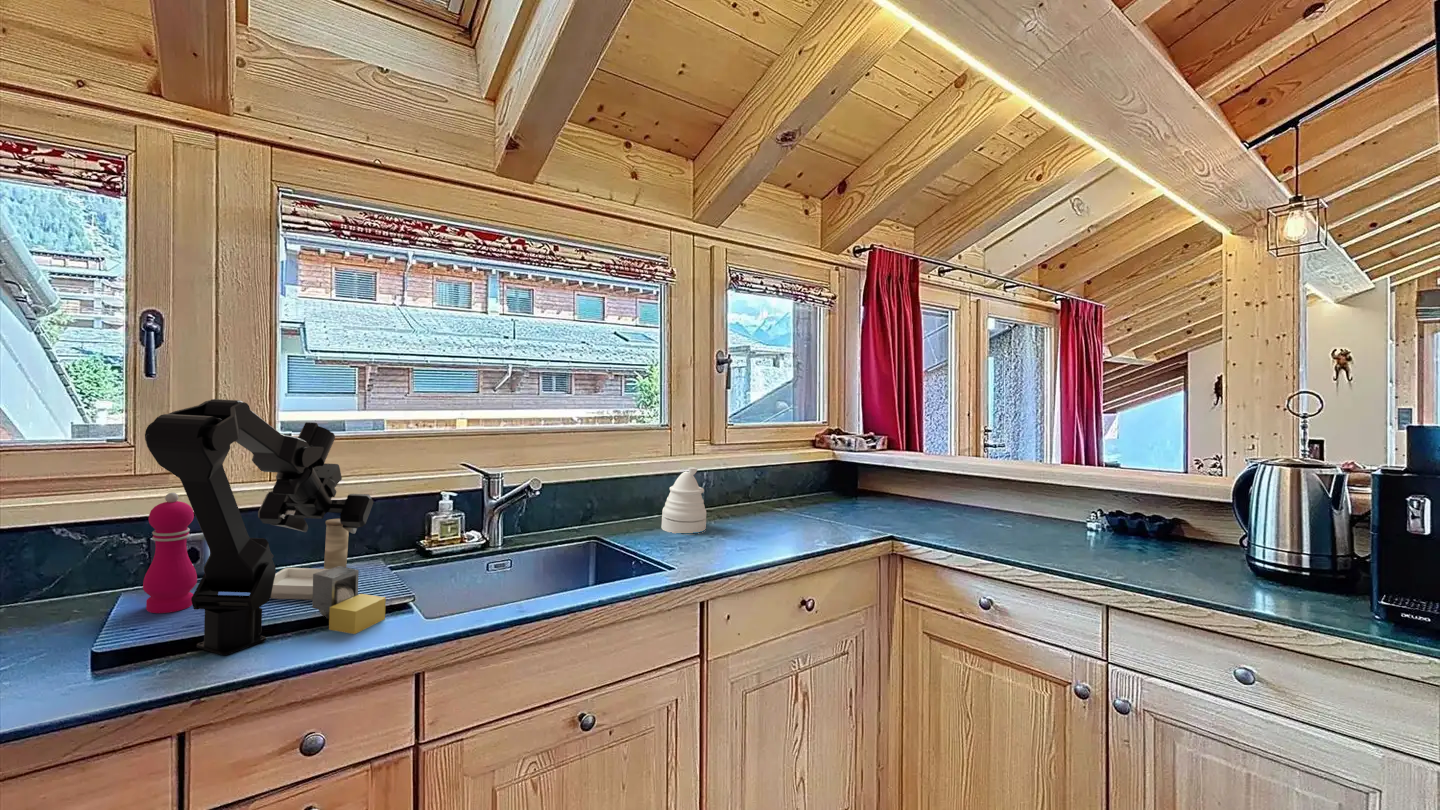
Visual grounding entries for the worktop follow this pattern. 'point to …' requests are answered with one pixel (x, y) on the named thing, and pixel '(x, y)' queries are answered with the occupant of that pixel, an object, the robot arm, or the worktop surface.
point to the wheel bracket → (333, 588)
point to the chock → (357, 613)
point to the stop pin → (335, 544)
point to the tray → (294, 583)
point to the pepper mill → (170, 558)
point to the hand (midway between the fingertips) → (330, 530)
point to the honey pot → (684, 506)
